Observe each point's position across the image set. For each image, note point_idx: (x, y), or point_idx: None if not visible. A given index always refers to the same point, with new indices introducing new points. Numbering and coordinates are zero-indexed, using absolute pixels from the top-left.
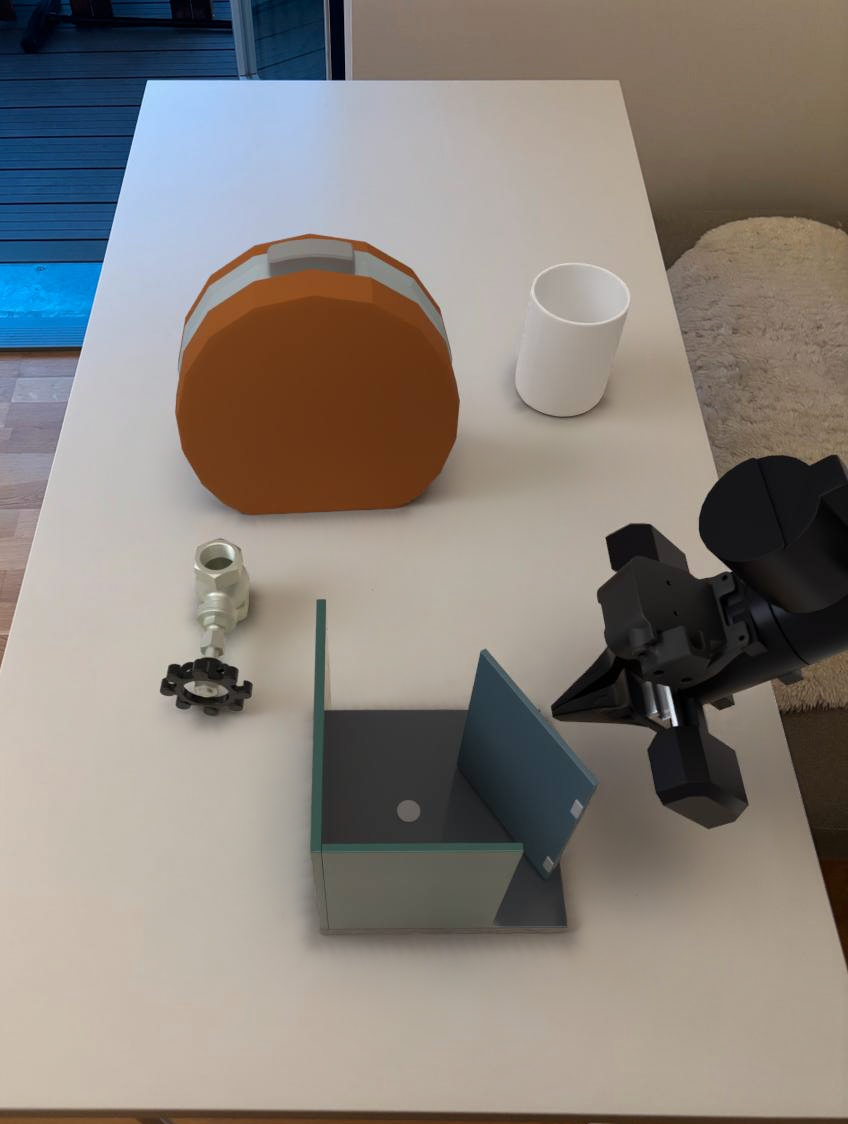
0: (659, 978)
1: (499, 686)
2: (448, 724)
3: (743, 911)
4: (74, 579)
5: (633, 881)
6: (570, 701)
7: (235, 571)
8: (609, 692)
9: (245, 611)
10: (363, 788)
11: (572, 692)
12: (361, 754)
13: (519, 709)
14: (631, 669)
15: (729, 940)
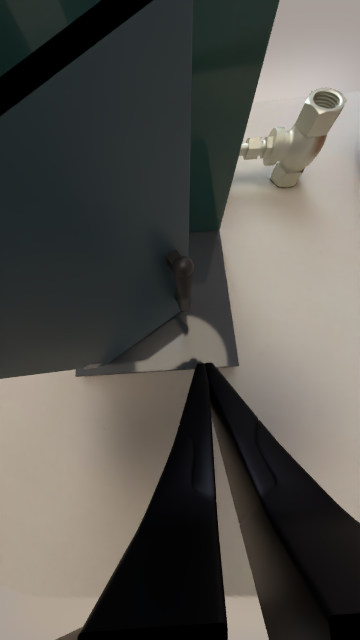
0: (49, 438)
1: (60, 62)
2: (217, 299)
3: (87, 518)
4: (284, 112)
5: (113, 427)
6: (208, 387)
7: (315, 115)
8: (195, 491)
9: (282, 179)
10: None
11: (222, 391)
12: (189, 248)
13: None
14: (278, 585)
15: (68, 500)
